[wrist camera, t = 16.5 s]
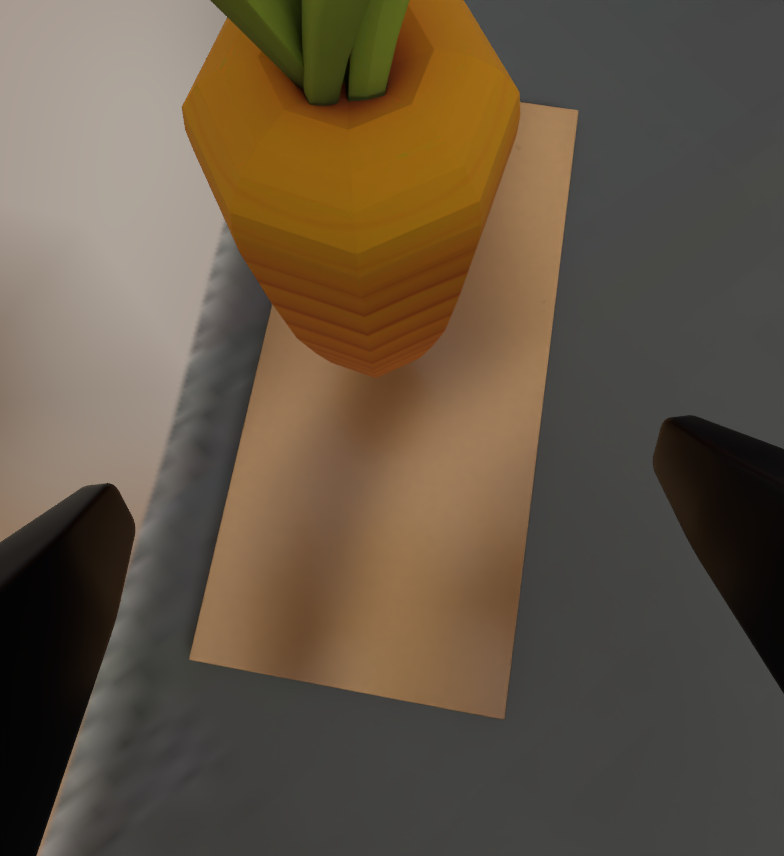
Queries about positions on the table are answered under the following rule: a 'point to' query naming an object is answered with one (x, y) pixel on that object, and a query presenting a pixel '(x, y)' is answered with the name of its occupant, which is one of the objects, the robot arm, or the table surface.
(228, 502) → the wooden board
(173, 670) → the table surface
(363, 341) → the carrot
